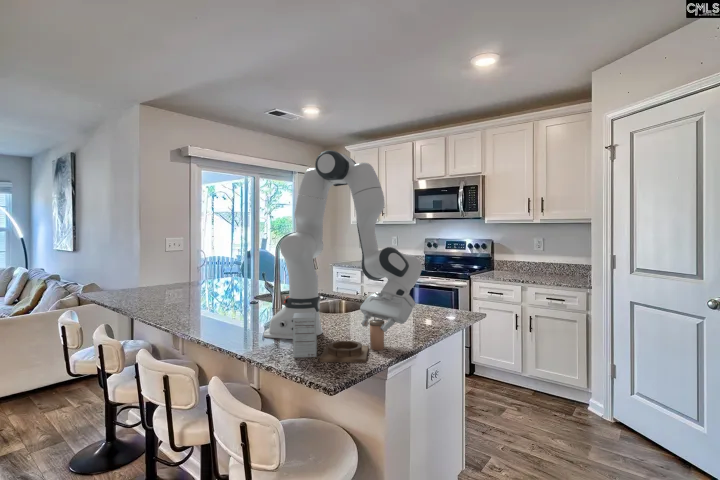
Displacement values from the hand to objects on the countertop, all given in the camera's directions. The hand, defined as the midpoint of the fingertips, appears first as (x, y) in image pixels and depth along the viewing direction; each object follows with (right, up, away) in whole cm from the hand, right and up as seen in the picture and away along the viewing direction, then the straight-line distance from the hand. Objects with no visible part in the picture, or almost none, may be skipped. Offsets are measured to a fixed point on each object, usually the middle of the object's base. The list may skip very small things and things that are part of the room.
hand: (372, 328), depth 130 cm
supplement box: (-22, -8, -5) cm, 24 cm away
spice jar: (+1, -7, +1) cm, 7 cm away
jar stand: (-9, -7, -6) cm, 13 cm away
